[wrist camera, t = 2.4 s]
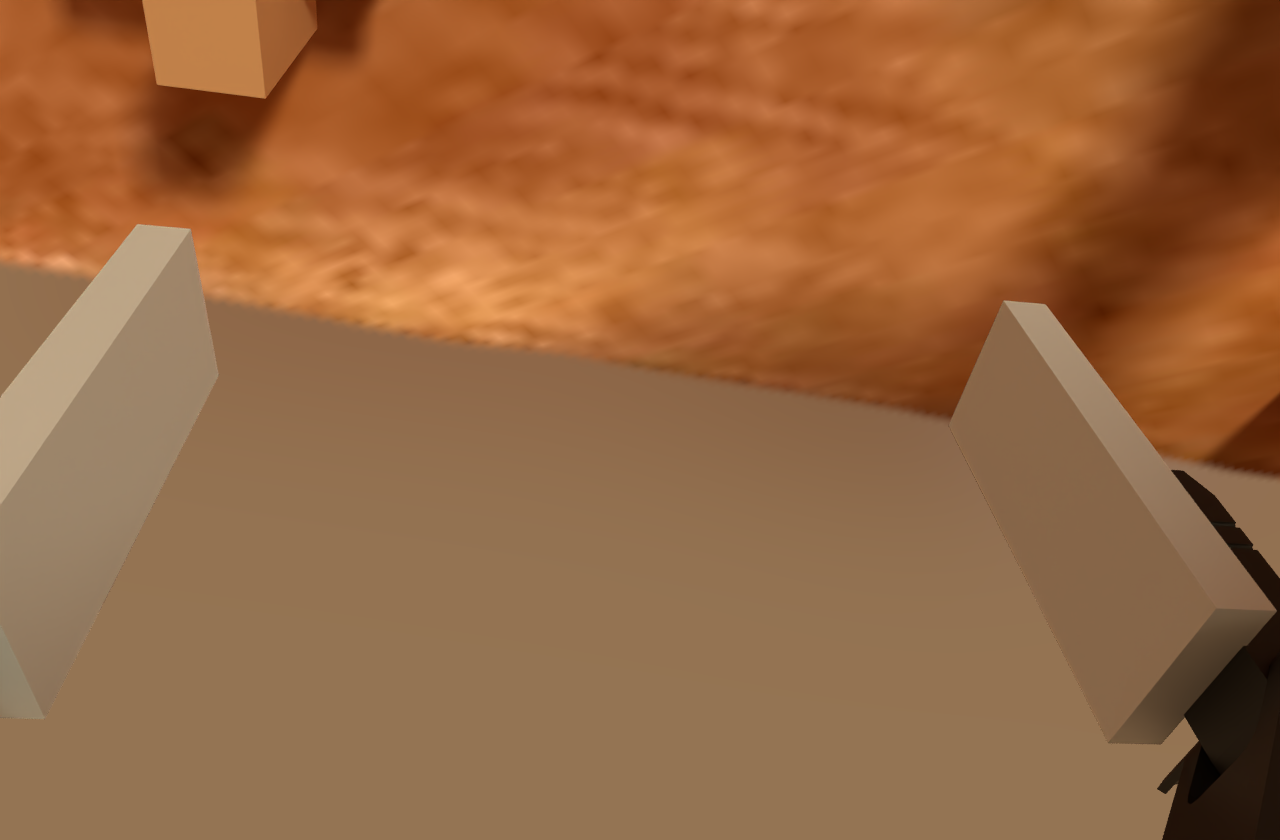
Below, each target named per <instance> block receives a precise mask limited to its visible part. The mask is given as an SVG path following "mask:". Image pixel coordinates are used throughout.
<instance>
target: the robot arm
mask: <svg viewBox="0 0 1280 840" xmlns="http://www.w3.org/2000/svg"><path fill="white" fill-rule="evenodd" d="M218 376H219V374H218V369H217V364H216V359H215V353H214V348H213V343H212V337H211V332H210V327H209V322H208V317H207V312H206V306H205V301H204V295H203V290H202V285H201V280H200V274H199V269H198V264H197V259H196V253H195V248H194V243H193V238H192V232H191V229H185V228H174V227H163V226H151V225H140V224H137V225H136V227H135V228H134V229H133V230H132V232H131V233H130V234H129V235H128V237H127V238H126V239H125V241H124V242H123V243H122V244H121V246H120V247H119V248H118V249H117V251H116V252H115V253H114V254H113V256H112V257H111V258H110V259H109V261H108V262H107V263H106V264H105V266H104V267H103V268H102V270H101V271H100V272H99V273H98V275H97V276H96V277H95V278H94V280H93V281H92V282H91V283H90V285H89V286H88V287H87V288H86V290H85V291H84V292H83V293H82V295H81V296H80V297H79V299H78V300H77V301H76V302H75V304H74V305H73V306H72V307H71V309H70V310H69V311H68V312H67V314H66V315H65V316H64V317H63V319H62V320H61V321H60V322H59V324H58V325H57V326H56V328H55V329H54V330H53V332H52V333H51V334H50V335H49V336H48V338H47V339H46V340H45V341H44V343H43V344H42V345H41V346H40V348H39V349H38V350H37V352H36V353H35V354H34V355H33V357H32V358H31V359H30V360H29V362H28V363H27V364H26V366H25V367H24V368H23V369H22V371H21V372H20V373H19V374H18V376H17V377H16V378H15V379H14V380H13V382H12V383H11V385H10V386H9V387H8V388H7V389H6V391H5V392H4V393H3V394H2V396H1V397H0V718H29V719H30V718H31V719H45V718H46V716H47V714H48V712H49V710H50V708H51V706H52V704H53V702H54V700H55V698H56V696H57V694H58V692H59V690H60V688H61V686H62V684H63V682H64V680H65V678H66V676H67V675H68V673H69V671H70V669H71V667H72V665H73V663H74V661H75V659H76V657H77V654H78V653H79V651H80V649H81V647H82V645H83V643H84V641H85V639H86V637H87V635H88V633H89V631H90V629H91V627H92V625H93V623H94V621H95V619H96V617H97V615H98V613H99V611H100V609H101V607H102V605H103V603H104V601H105V599H106V597H107V595H108V593H109V591H110V589H111V587H112V585H113V583H114V581H115V580H116V577H117V575H118V574H119V572H120V570H121V567H122V566H123V564H124V562H125V559H126V558H127V556H128V554H129V552H130V550H131V548H132V546H133V544H134V542H135V540H136V538H137V536H138V534H139V532H140V530H141V528H142V526H143V524H144V522H145V520H146V518H147V516H148V514H149V512H150V510H151V508H152V506H153V504H154V502H155V500H156V498H157V496H158V494H159V492H160V490H161V488H162V486H163V484H164V482H165V481H166V478H167V477H168V475H169V473H170V471H171V469H172V467H173V465H174V462H175V461H176V458H177V457H178V455H179V453H180V451H181V449H182V447H183V445H184V443H185V441H186V439H187V437H188V435H189V433H190V431H191V429H192V427H193V425H194V423H195V421H196V419H197V417H198V414H199V413H200V411H201V409H202V407H203V405H204V403H205V401H206V399H207V397H208V395H209V393H210V391H211V389H212V387H213V385H214V384H215V382H216V380H217V378H218ZM948 426H949V428H950V430H951V432H952V434H953V436H954V438H955V440H956V442H957V444H958V446H959V448H960V450H961V452H962V454H963V456H964V458H965V459H966V461H967V464H968V465H969V467H970V470H971V472H972V474H973V476H974V478H975V480H976V482H977V483H978V485H979V487H980V490H981V492H982V494H983V495H984V497H985V499H986V501H987V503H988V505H989V507H990V509H991V511H992V513H993V515H994V517H995V519H996V521H997V523H998V525H999V527H1000V529H1001V531H1002V533H1003V535H1004V537H1005V539H1006V541H1007V543H1008V545H1009V547H1010V549H1011V551H1012V553H1013V555H1014V557H1015V559H1016V561H1017V563H1018V565H1019V567H1020V569H1021V571H1022V573H1023V575H1024V577H1025V579H1026V581H1027V583H1028V585H1029V587H1030V589H1031V591H1032V593H1033V595H1034V597H1035V599H1036V601H1037V603H1038V605H1039V607H1040V609H1041V611H1042V613H1043V615H1044V617H1045V619H1046V620H1047V622H1048V625H1049V627H1050V629H1051V631H1052V633H1053V635H1054V637H1055V639H1056V641H1057V643H1058V644H1059V647H1060V648H1061V651H1062V653H1063V655H1064V657H1065V658H1066V660H1067V662H1068V665H1069V666H1070V668H1071V670H1072V672H1073V674H1074V676H1075V678H1076V680H1077V682H1078V684H1079V686H1080V688H1081V690H1082V692H1083V694H1084V696H1085V698H1086V700H1087V702H1088V704H1089V706H1090V708H1091V710H1092V712H1093V714H1094V716H1095V718H1096V720H1097V722H1098V724H1099V726H1100V728H1101V730H1102V732H1103V734H1104V736H1105V738H1106V740H1107V742H1108V743H1125V744H1162V743H1163V742H1164V740H1165V739H1166V738H1167V737H1168V736H1169V735H1170V734H1171V732H1172V731H1173V730H1174V729H1175V728H1176V727H1177V725H1178V724H1179V723H1180V722H1181V721H1182V720H1183V719H1184V717H1185V718H1186V720H1187V721H1188V723H1189V725H1190V726H1191V728H1192V730H1193V732H1194V733H1195V735H1196V737H1197V738H1198V740H1199V741H1198V742H1197V744H1196V745H1195V746H1194V747H1193V748H1192V749H1191V750H1190V751H1189V752H1188V754H1187V755H1186V756H1185V757H1184V758H1183V759H1182V760H1181V761H1180V762H1179V763H1178V765H1176V767H1175V768H1174V769H1173V770H1172V771H1171V772H1170V773H1169V774H1168V775H1167V777H1166V778H1165V779H1164V780H1163V781H1162V783H1161V784H1160V786H1159V787H1158V788H1157V789H1158V790H1160V791H1161V792H1163V793H1165V794H1166V793H1167V792H1168V791H1169V790H1170V789H1171V788H1172V786H1173V785H1175V784H1178V786H1177V789H1176V793H1175V797H1174V800H1173V803H1172V807H1171V810H1170V814H1169V817H1168V821H1167V825H1166V828H1165V831H1164V835H1163V839H1162V840H1280V578H1279V577H1278V576H1277V575H1276V573H1275V572H1274V571H1273V569H1272V568H1271V567H1270V565H1269V564H1268V563H1267V562H1266V560H1265V559H1264V558H1263V557H1262V555H1261V554H1260V553H1259V551H1257V550H1253V548H1252V546H1253V544H1252V543H1251V541H1250V540H1249V539H1248V537H1247V536H1246V535H1245V534H1244V532H1243V531H1242V530H1241V529H1240V528H1236V527H1235V523H1236V522H1235V521H1234V520H1233V518H1232V517H1231V516H1230V514H1229V513H1228V512H1227V511H1226V509H1225V508H1224V507H1223V506H1222V504H1221V503H1220V502H1219V500H1218V499H1217V498H1216V497H1215V495H1213V494H1212V493H1211V492H1209V491H1208V490H1207V489H1206V488H1204V487H1203V486H1202V485H1201V484H1199V483H1198V482H1197V481H1196V480H1194V479H1193V478H1192V477H1190V476H1189V475H1188V474H1187V473H1185V472H1184V471H1180V470H1170V469H1169V467H1168V466H1167V465H1166V463H1165V462H1164V461H1163V459H1162V458H1161V457H1160V455H1159V454H1158V453H1157V451H1156V450H1155V449H1154V447H1153V446H1152V445H1151V443H1150V442H1149V441H1148V439H1147V438H1146V437H1145V435H1144V434H1143V433H1142V431H1141V430H1140V429H1139V427H1138V426H1137V425H1136V423H1135V422H1134V421H1133V419H1132V418H1131V417H1130V416H1129V414H1128V413H1127V412H1126V410H1125V409H1124V408H1123V406H1122V405H1121V404H1120V402H1119V401H1118V400H1117V398H1116V397H1115V396H1114V394H1113V393H1112V392H1111V390H1110V389H1109V388H1108V386H1107V385H1106V384H1105V382H1104V381H1103V380H1102V378H1101V377H1100V376H1099V374H1098V373H1097V372H1096V370H1095V369H1094V368H1093V367H1092V365H1091V364H1090V363H1089V361H1088V360H1087V359H1086V357H1085V356H1084V355H1083V353H1082V352H1081V351H1080V349H1079V348H1078V347H1077V345H1076V344H1075V343H1074V341H1073V340H1072V339H1071V337H1070V336H1069V335H1068V333H1067V332H1066V331H1065V329H1064V328H1063V327H1062V325H1061V324H1060V323H1059V321H1058V320H1057V319H1056V318H1055V316H1054V315H1053V314H1052V312H1051V311H1050V310H1049V308H1048V307H1047V306H1046V304H1038V303H1027V302H1015V301H1004V300H1003V302H1002V305H1001V307H1000V309H999V312H998V314H997V316H996V318H995V321H994V323H993V325H992V327H991V330H990V332H989V334H988V337H987V339H986V341H985V343H984V346H983V348H982V350H981V352H980V355H979V357H978V359H977V361H976V364H975V366H974V368H973V371H972V373H971V375H970V377H969V380H968V382H967V384H966V386H965V389H964V391H963V393H962V396H961V398H960V400H959V402H958V405H957V407H956V409H955V411H954V414H953V416H952V418H951V421H950V423H949V425H948Z"/></svg>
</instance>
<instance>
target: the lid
mask: <svg viewBox="0 0 1280 840" xmlns="http://www.w3.org/2000/svg"><path fill="white" fill-rule="evenodd" d="M142 2H143V8H144V14H145V19H146V25H147V31H148V36H149V42H150V48H151V53H152V59H153V65H154V71H155V76H156V82H157V85H163V86H171V87H179V88H187V89H194V90H202V91H210V92H218V93H226V94H234V95H242V96H249V97H257V98H265V99H266V97H267V96H268V95H269V93H270V92H271V91H272V89H273V88H274V87H275V85H276V84H277V82H278V81H279V80H280V78H281V77H282V76H283V74H284V73H285V72H286V70H287V69H288V68H289V66H290V65H291V64H292V62H293V61H294V60H295V58H296V57H297V55H298V54H299V53H300V51H301V50H302V49H303V47H304V46H305V45H306V43H307V42H308V41H309V39H310V38H311V37H312V35H313V34H314V32H315V31H316V30H317V28H318V26H317V10H316V0H142Z"/></svg>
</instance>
